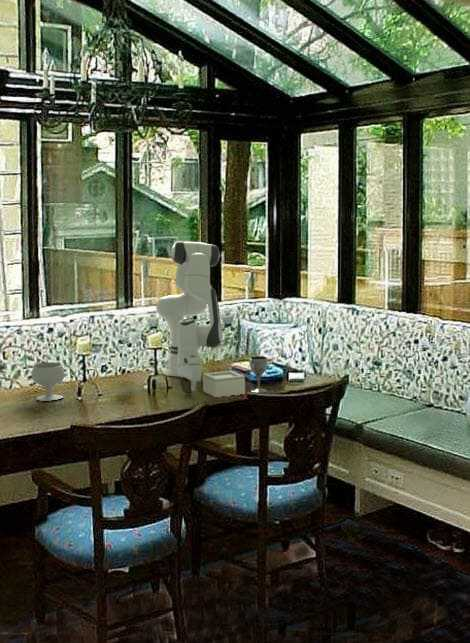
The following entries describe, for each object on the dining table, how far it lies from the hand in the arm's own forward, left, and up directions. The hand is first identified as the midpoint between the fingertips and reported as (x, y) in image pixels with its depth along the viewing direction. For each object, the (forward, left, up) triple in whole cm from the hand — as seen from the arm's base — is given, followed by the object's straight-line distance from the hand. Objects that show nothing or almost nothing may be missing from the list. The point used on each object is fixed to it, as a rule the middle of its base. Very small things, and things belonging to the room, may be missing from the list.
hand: (189, 388), depth 387 cm
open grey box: (+2, +16, -3) cm, 16 cm away
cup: (0, 0, -4) cm, 4 cm away
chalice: (-23, -56, -4) cm, 60 cm away
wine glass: (+6, +31, -4) cm, 31 cm away
